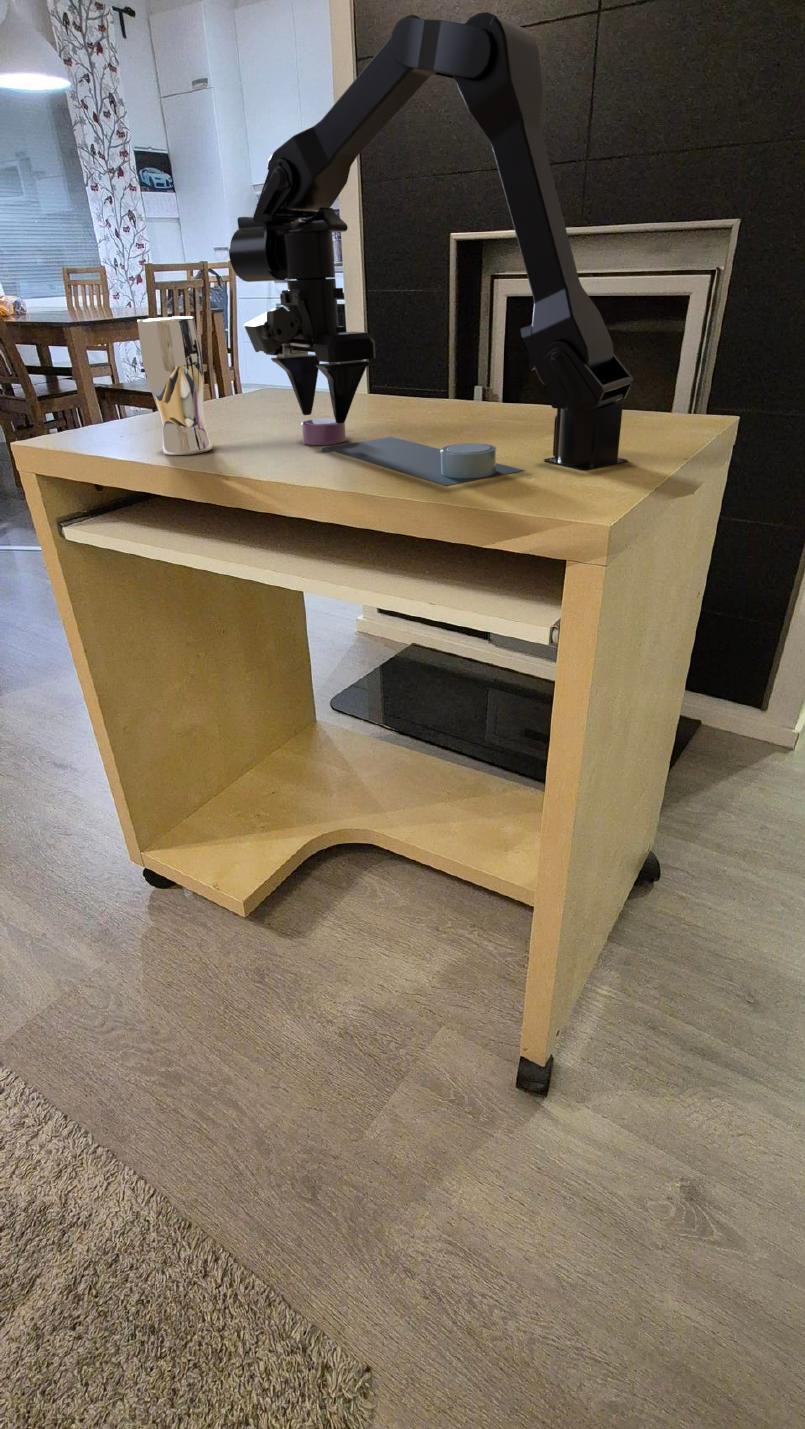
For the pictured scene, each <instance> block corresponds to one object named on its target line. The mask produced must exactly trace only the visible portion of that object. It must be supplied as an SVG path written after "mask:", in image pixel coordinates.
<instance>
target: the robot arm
mask: <svg viewBox="0 0 805 1429" xmlns="http://www.w3.org/2000/svg"><path fill="white" fill-rule="evenodd" d="M540 58H541V57H540V50H539V46H538V43H537V41H536V39H535V37H534V35H533V33H531V32H530V31H529V30H527V29H526V28H524V27H522V26H520V25H517V24H515V23H513V22H511V21H508V20H506V19H504V18H501V17H500V16H498V15H495V14H494V13H493V14H492V13H490V12H478V13H475V15H472V16H471V17H469V18H468V20H466V22H464V23H461V22H455V21H450V20H443V19H427V18H423V17H421V16H419V15H415V14H409V15H405V17H402V18H400V19H399V20H398V21H397V22H396V24H395V26H394V27H393V29H392V32H391V35H390V37H389V38H388V39H387V41H386V42H385V43H384V44H383V46H381V47H380V49H379V50H378V51H377V53H376V54H375V55H374V56H373V57H372V59H371V60H370V61H369V62H368V63H367V64H366V65H365V67H364V68H363V69H362V71H361V72H360V73H359V74H358V75H357V77H356V78H354V80H353V81H352V83H350V85H349V86H348V87H347V89H346V90H345V91H344V93H342V95H341V96H340V97H339V98H338V99H337V101H336V102H335V103H334V104H333V105H332V106H331V107H330V109H329V110H328V111H327V112H326V113H325V115H324V116H323V118H322V119H321V120H319V121H318V122H317V123H316V124H314V125H313V126H310V127H309V128H307V129H305V130H303V131H300V132H298V133H296V134H294V135H292V136H291V137H290V138H288V140H287V141H285V142H284V143H282V145H280V146H279V147H278V148H276V149H275V150H274V151H273V152H272V153H271V156H270V158H269V159H268V163H267V165H266V166H267V168H266V169H267V174H266V177H265V179H264V183H263V186H262V189H261V192H260V195H259V197H258V201H257V203H256V208H255V210H254V213H253V215H252V216H239V217H237V230H236V231H235V232H234V233H233V235H232V237H231V239H230V245H229V246H230V247H229V249H228V258H229V262H230V265H231V268H232V269H233V272H234V273H235V275H236V276H237V277H238V278H239V279H241V280H242V281H244V282H247V283H251V282H252V283H253V282H272V281H273V282H277V281H285V280H286V283H287V284H286V285H287V290H286V289H283V290H281V293H280V294H279V299H280V305H277V306H275V307H274V308H272V309H270V310H267V311H266V312H264V313H262V314H260V315H259V316H256V317H255V318H253V319H251V320H250V321H248V322H245V323H244V325H243V327H244V329H245V331H246V333H247V336H248V338H249V340H250V344H251V345H252V348H253V350H254V352H255V353H259V352H262V353H264V354H265V355H267V356H275V357H270V360H271V361H272V362H273V363H275V364H276V365H278V366H279V367H280V368H281V369H282V370H283V371H285V373H286V374H287V377H288V379H289V383H290V384H291V387H292V390H293V393H294V395H295V397H296V400H297V403H298V405H299V409H300V411H301V414H302V415H303V416H311V415H312V413H313V408H314V403H315V395H316V389H317V382H318V375H319V371H320V372H321V373H322V374H323V375H324V376H325V378H326V379H327V380H326V381H327V385H328V391H329V397H330V402H331V408H332V412H333V416H334V417H333V418H335V421H336V423H338V424H340V423H344V422H345V423H346V420H347V418H348V414H349V411H350V409H351V406H352V403H353V400H354V398H355V395H356V392H357V390H358V387H359V385H360V382H361V380H362V378H363V376H364V373H365V371H366V370H367V367H370V365H371V361H370V360H373V359H376V340H375V339H374V338H373V337H372V335H371V334H370V333H369V332H366V331H346V326H344V325H340V322H339V310H338V299H339V298H341V299H342V298H344V287H337V282H336V269H335V254H334V243H333V233H343V232H347V231H348V229H349V228H348V227H349V226H348V224H347V223H346V222H345V221H344V220H343V219H341V217H340V216H338V214H337V213H336V211H335V210H334V208H333V207H332V206H333V205H334V203H335V202H336V200H337V198H338V197H339V195H340V194H341V192H342V191H343V189H344V188H345V187H346V186H347V183H348V180H349V175H350V171H351V168H352V165H353V163H354V162H355V160H356V159H357V158H358V157H359V155H361V153H362V152H363V150H364V149H366V147H367V146H368V145H369V144H370V143H371V142H372V141H373V140H374V139H375V138H376V137H377V136H378V134H379V133H380V132H381V131H382V130H383V128H384V127H385V126H386V125H388V123H389V122H390V121H391V120H392V119H393V118H394V117H395V116H396V114H398V113H399V111H400V110H401V109H402V108H403V107H404V106H405V104H406V103H407V102H408V101H409V100H410V99H411V98H412V97H413V96H414V95H415V94H416V92H418V91H419V89H420V88H421V87H423V85H424V84H425V83H426V82H427V80H428V79H429V78H431V77H432V76H439V77H444V78H448V79H452V80H454V82H455V84H456V86H457V89H458V91H459V93H460V95H461V98H462V100H463V102H464V104H465V107H466V109H467V111H468V112H469V114H470V116H471V117H472V118H473V120H474V121H475V123H476V124H477V127H479V129H480V131H482V133H483V135H484V136H485V138H486V139H487V141H488V142H489V144H490V146H491V149H492V152H493V156H494V160H495V163H496V167H497V170H498V174H499V178H500V182H501V185H502V189H503V193H504V197H505V200H506V204H507V208H508V211H509V214H510V218H511V221H512V225H513V229H514V233H515V237H516V239H517V240H516V241H517V243H518V247H519V250H520V251H519V252H520V254H521V259H522V262H523V266H524V268H525V273H526V275H527V279H528V283H529V287H530V290H531V295H532V298H533V299H532V300H533V312H532V322H531V324H530V325H526V326H523V327H521V328H520V330H519V331H520V332H519V333H520V337H521V340H522V341H523V344H524V346H525V349H526V351H527V354H528V355H527V356H528V370H529V371H534V370H535V372H536V375H537V377H538V379H539V381H540V382H541V383H542V384H543V385H545V386H546V391H547V395H548V398H549V402H550V405H551V408H552V409H556V415H555V417H554V427H553V442H552V443H553V446H552V456H553V457H547V458H544V459H543V462H544V463H548V464H552V465H557V466H562V467H565V468H569V469H575V470H578V471H583V472H584V471H587V472H588V471H592V470H596V469H601V468H602V469H603V468H606V467H611V466H615V465H621V464H626V463H628V462H629V459H627V458H622V457H619V449H620V439H621V428H622V418H623V408H624V404H623V403H619V402H618V401H620V400H624V399H626V398H627V396H628V394H629V392H630V389H631V387H632V384H634V383H633V382H634V377H633V376H632V375H631V373H630V372H629V371H628V369H626V367H625V366H624V365H623V363H622V362H621V361H620V359H618V357H617V355H615V353H614V343H613V340H612V337H611V335H610V333H609V330H608V328H607V326H606V324H605V321H604V319H603V317H602V315H601V312H600V311H599V309H598V307H597V306H596V305H595V303H594V301H593V300H592V298H590V296H589V295H588V293H587V292H586V290H585V289H584V287H583V286H582V283H581V281H580V277H579V273H578V270H577V269H578V268H577V266H576V262H575V258H574V255H573V251H572V247H571V242H570V239H569V235H568V230H567V227H566V223H565V219H564V216H563V211H562V207H561V204H560V201H559V200H560V199H559V196H558V192H557V189H556V184H555V181H554V176H553V173H552V169H551V166H550V160H549V158H548V153H547V149H546V145H545V142H544V138H543V134H542V129H541V116H542V115H541V114H542V106H543V95H544V86H543V85H544V84H543V77H542V76H543V75H542V67H541V59H540ZM309 353H311V354H309ZM312 353H314V354H312ZM320 362H321V363H320Z"/></svg>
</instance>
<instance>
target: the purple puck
mask: <svg viewBox="0 0 805 1429" xmlns="http://www.w3.org/2000/svg"><path fill="white" fill-rule="evenodd" d="M301 435H302V443H303V444H305V445H307V446H333V445H339V444H342V443H344V442H346V441H347V430H346V421H345V422H344V423H340V424H338V423H336V421H335V417H327V418H325V417H323V418H322V417H321V418H314V419H308V420H304V421H302V422H301Z"/></svg>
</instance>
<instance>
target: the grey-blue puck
mask: <svg viewBox="0 0 805 1429" xmlns="http://www.w3.org/2000/svg"><path fill="white" fill-rule="evenodd" d="M440 449H441V474H442V475H443V476H446V477H450V478H457V479H475V478H483V477H488V476H491V475H493V474H495V472H496V463H497V447H496V446H495V445H491V444H487V443H480V442H479V443H478V442H477V443H475V442H470V443H469V442H468V443H467V442H466V443H465V442H464V443H453V444H450V445H446V446H444V447H441V448H440Z"/></svg>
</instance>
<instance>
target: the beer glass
mask: <svg viewBox="0 0 805 1429" xmlns="http://www.w3.org/2000/svg"><path fill="white" fill-rule="evenodd" d="M137 330H138V338H139V339H138V340H139V347H140V354H141V360H142V364H143V370H144V373H145V376H146V379H147V383H148V385H149V388H150V389H149V390H150V391H151V395H152V397H153V401H154V403H155V405H156V409H157V411H158V415H159V418H160V422H161V431H162V451H163V454H164V455H169V456H190V455H198V454H204V453H207V452H210V451H211V450H212V449H213V445H212V441H211V439H210V436H209V433H208V429H207V427H206V421H205V413H204V394H205V392H204V390H205V389H204V386H205V385H204V380H205V379H204V364H203V356H202V351H201V344H200V340H199V336H198V330H197V327H196V322H195V317H194V316H172V317H154V318H145V319H144V318H143V319H137Z"/></svg>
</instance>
